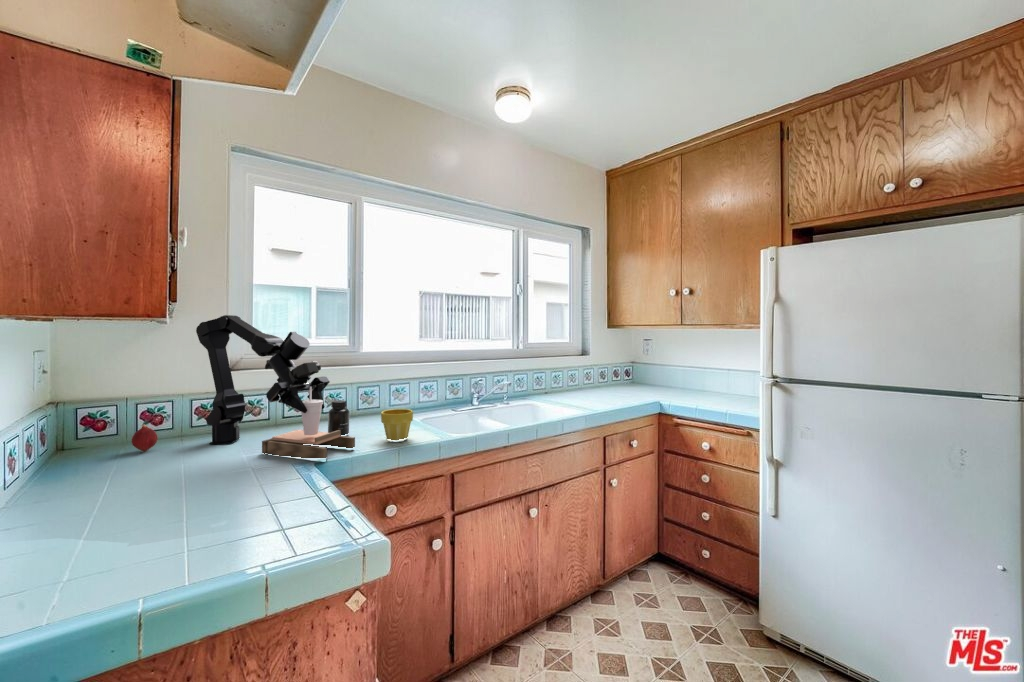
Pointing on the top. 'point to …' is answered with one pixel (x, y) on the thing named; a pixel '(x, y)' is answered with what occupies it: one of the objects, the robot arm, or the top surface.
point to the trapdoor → (306, 437)
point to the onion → (144, 438)
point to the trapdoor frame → (304, 447)
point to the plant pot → (397, 423)
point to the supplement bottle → (338, 417)
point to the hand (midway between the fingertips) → (314, 410)
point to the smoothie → (311, 415)
